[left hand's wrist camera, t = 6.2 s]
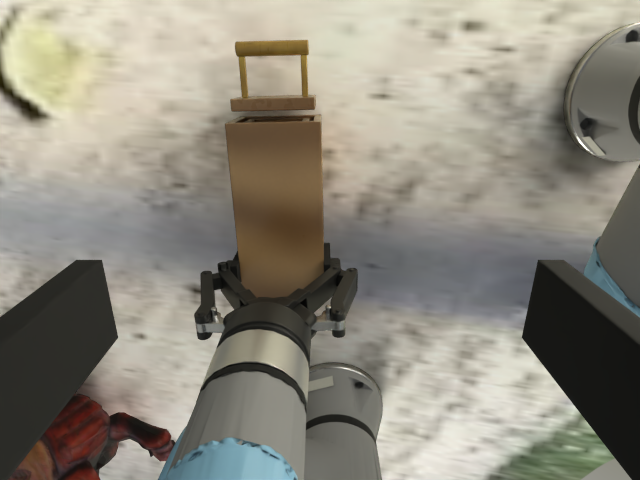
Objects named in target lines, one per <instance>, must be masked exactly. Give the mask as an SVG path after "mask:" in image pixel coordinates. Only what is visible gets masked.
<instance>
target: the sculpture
mask: <svg viewBox="0 0 640 480" xmlns="http://www.w3.org/2000/svg"><path fill="white" fill-rule="evenodd" d="M127 439H131V440H133V441H135V442H137V443H139V444H140V445H141V447H142V448H144V449H146V450H148V451H149V453H150V456H151V457H152V456H153V455H154V456H155V457H156V458H157V459H158V460H159V461H167V459H168V457H169V455H170V453H171V451H172V449H173V447H174V445H175V442H174V440H170V439H171V435H170V433H169V432H168V430H167V429H163V428H159V427H156V426H152V425H150V424H147V423H145V422H143V421H140V420H139V419H137V418H134V417H132V416H130V415H128V414H126V413H116V414H114V415H111V416H109V415H108V414H107V413H106V412H105V411H104V410H103V409H102V406H101V405H99V404H98V403H97V402H95V401H93V400H90V398H89V397H87V396H84V395H77V394H74V395H73V396H72V398H71V399H70V400H69V402H68V403H67V404H66V405H65V407H64V408H63V409H62V411H61V412H60V413H59V414H58V416H57V417H56V418H55V420H54V421H53V422H52V424H51V425H50V426H49V427H48V429H47V430H46V431H45V433H44V434H43V435H42V436H41V438H40V439H39V440H38V442H37V443H36V444H35V446H34V447H33V448H32V449H31V451H30V452H29V453H28V455H27V456H26V457H25V458H24V460H23V461H22V462H21V464H20V465H19V466H18V467H17V469H16V470H15V471H14V473H13V474H12V475H11V477H10V478H9V479H8V480H100V478H99V469H100V468H102V467H103V466H104V465H106V464H107V463H108V462H109V461H110V460H111V459H112V458H113V457H114V456H115V455H116V452H117V448H118V442H120V441H123V440H127Z"/></svg>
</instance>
